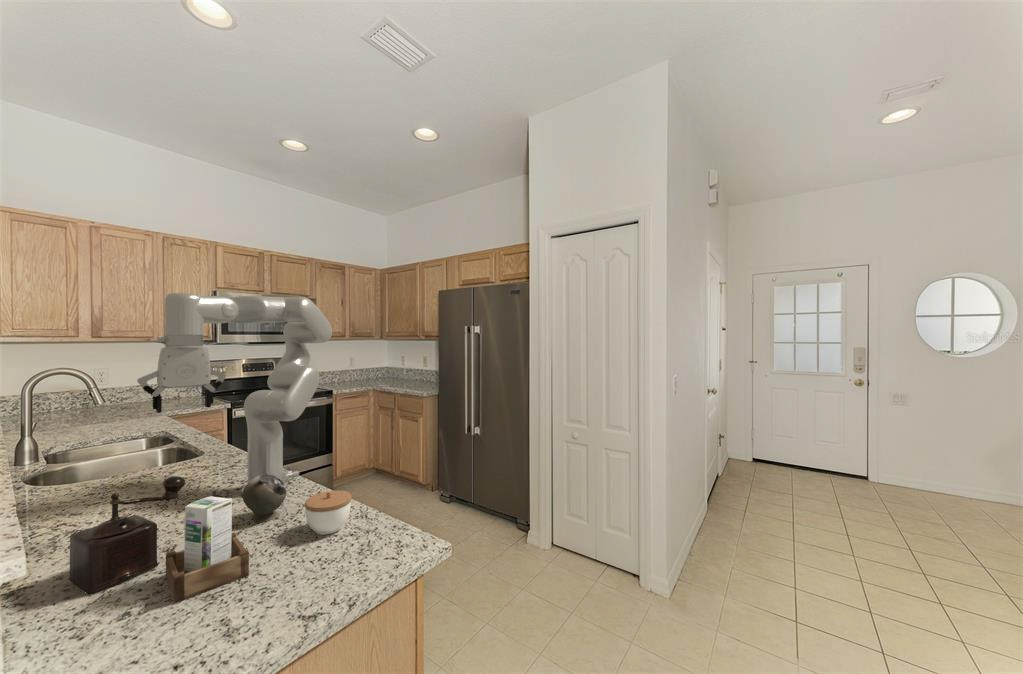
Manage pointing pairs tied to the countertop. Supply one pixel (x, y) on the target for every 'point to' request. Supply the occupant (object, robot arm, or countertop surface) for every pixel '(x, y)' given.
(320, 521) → the lidded jar
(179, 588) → the crate
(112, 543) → the manual coffee grinder
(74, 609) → the countertop surface
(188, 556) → the syrup box
